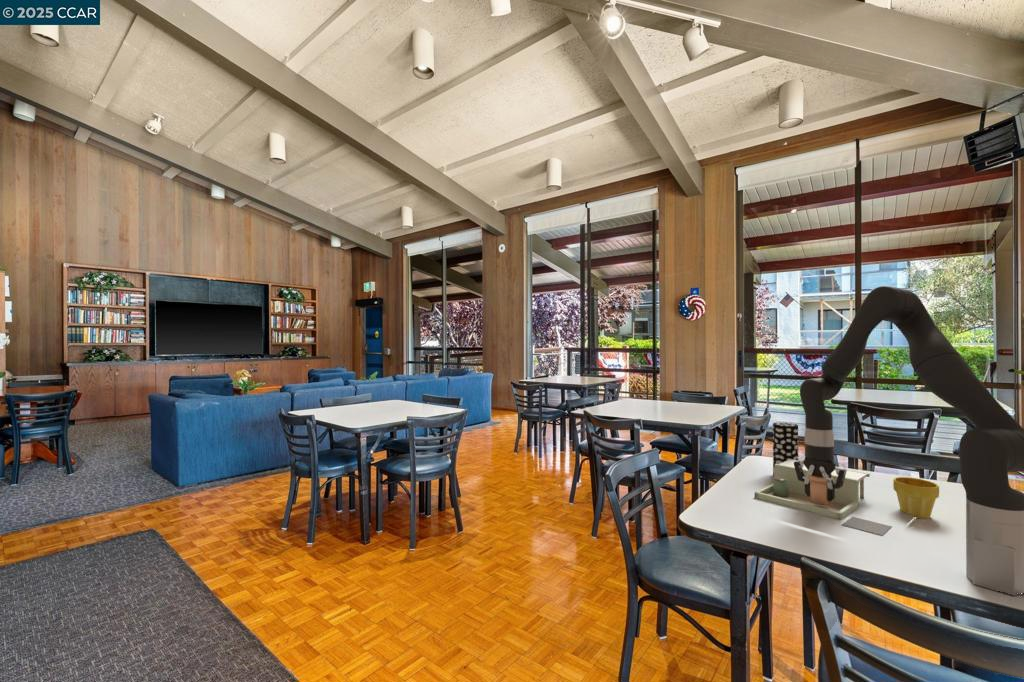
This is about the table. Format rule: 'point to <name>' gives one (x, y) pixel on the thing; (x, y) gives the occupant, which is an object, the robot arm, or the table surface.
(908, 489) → the plant pot
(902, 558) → the table surface
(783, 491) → the green plastic pot
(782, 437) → the white-spotted black cylinder
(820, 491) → the terracotta pot
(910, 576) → the table surface
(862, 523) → the slate tile
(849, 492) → the tray with back shelf
